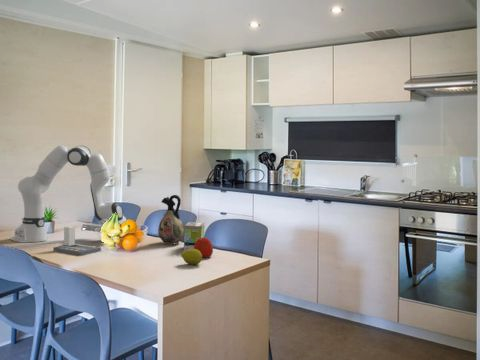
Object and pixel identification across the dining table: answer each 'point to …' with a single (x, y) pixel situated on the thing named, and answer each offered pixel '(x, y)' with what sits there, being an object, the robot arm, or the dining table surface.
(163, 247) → the dining table surface
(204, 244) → the apple
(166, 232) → the ceramic jug
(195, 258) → the lemon
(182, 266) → the dining table surface
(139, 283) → the dining table surface
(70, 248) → the console
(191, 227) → the tea box
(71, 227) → the fader knob
